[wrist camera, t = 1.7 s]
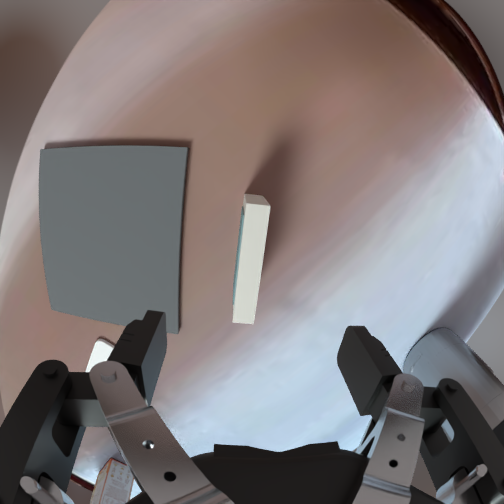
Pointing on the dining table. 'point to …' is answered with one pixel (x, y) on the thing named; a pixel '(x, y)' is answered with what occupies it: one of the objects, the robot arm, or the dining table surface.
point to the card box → (249, 257)
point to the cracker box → (113, 484)
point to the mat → (113, 230)
